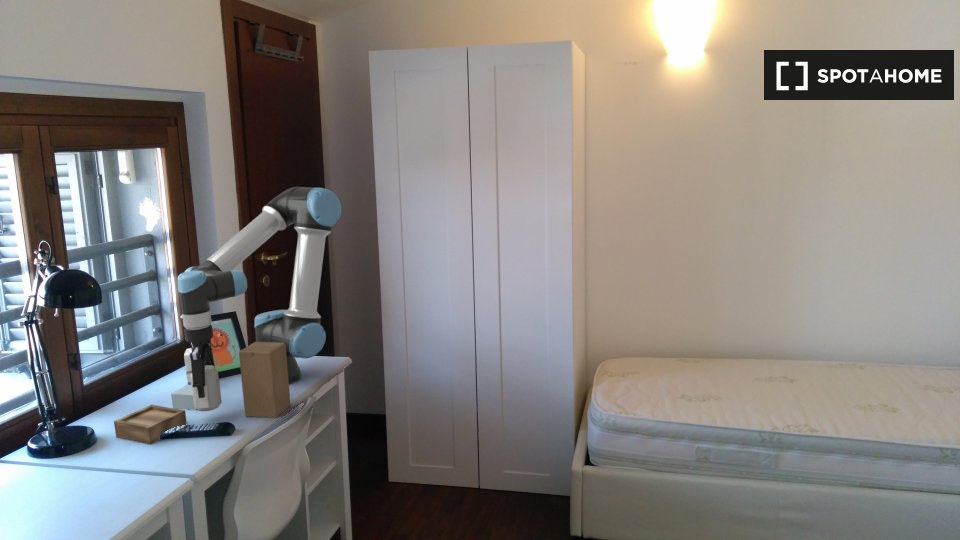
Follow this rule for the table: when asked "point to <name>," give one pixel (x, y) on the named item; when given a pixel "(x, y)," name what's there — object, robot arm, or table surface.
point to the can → (209, 389)
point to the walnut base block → (149, 423)
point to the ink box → (188, 364)
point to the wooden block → (264, 379)
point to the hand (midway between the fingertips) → (207, 401)
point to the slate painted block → (183, 398)
